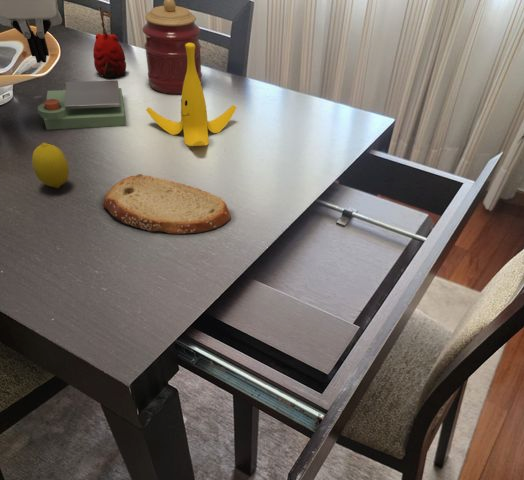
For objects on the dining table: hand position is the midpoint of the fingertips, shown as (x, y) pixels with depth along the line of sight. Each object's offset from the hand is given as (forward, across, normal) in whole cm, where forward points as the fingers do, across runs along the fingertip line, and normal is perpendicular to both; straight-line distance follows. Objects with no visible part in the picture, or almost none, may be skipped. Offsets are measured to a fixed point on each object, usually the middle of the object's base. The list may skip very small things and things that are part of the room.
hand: (41, 60), depth 93 cm
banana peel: (+13, -30, +7) cm, 33 cm away
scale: (+12, -6, -5) cm, 14 cm away
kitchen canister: (+13, -27, -19) cm, 35 cm away
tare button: (+9, 0, 0) cm, 9 cm away
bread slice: (+12, -19, +36) cm, 42 cm away
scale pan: (+9, -8, -5) cm, 13 cm away
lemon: (+12, -1, +26) cm, 29 cm away
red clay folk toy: (+12, -12, -27) cm, 32 cm away
